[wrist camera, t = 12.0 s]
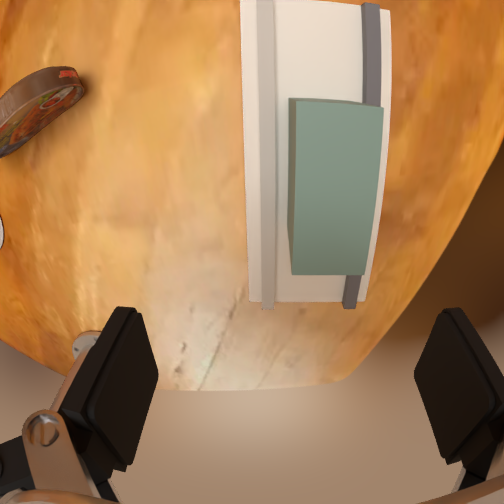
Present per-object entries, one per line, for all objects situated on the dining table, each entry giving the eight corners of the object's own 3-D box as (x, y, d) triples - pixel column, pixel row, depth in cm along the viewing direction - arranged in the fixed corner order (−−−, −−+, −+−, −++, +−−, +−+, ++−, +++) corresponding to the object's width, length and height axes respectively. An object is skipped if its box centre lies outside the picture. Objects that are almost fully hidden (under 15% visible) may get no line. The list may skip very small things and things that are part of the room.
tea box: (351, 100, 22) (384, 107, 15) (343, 225, 28) (365, 275, 21) (288, 97, 23) (296, 100, 16) (286, 224, 28) (291, 275, 21)
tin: (10, 156, 28) (-40, 181, 20) (1, 134, 26) (-50, 154, 19) (101, 86, 24) (47, 93, 17) (90, 60, 23) (35, 59, 16)
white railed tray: (360, 290, 33) (367, 308, 31) (250, 290, 34) (248, 309, 31) (382, 15, 20) (394, 7, 17) (242, 5, 21) (238, -4, 18)
